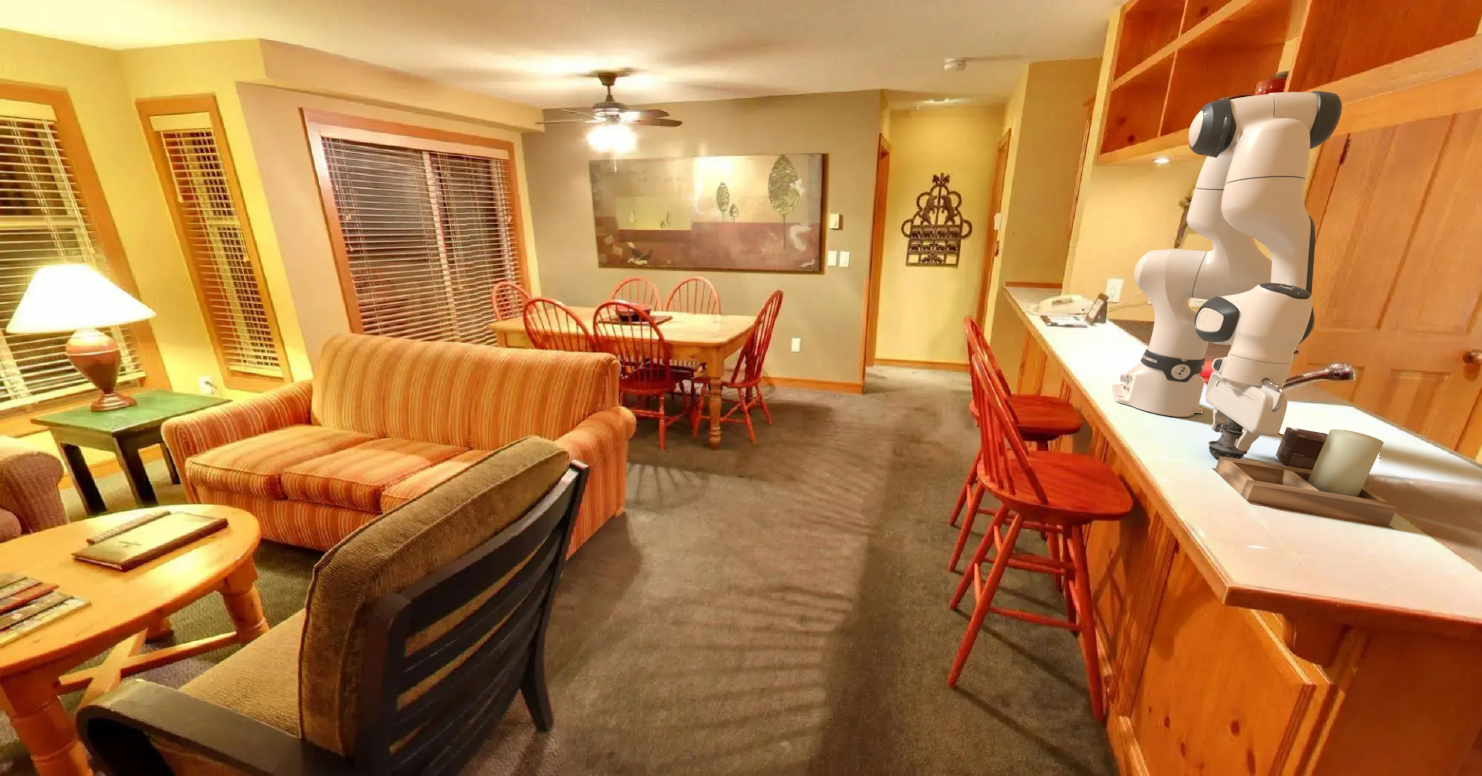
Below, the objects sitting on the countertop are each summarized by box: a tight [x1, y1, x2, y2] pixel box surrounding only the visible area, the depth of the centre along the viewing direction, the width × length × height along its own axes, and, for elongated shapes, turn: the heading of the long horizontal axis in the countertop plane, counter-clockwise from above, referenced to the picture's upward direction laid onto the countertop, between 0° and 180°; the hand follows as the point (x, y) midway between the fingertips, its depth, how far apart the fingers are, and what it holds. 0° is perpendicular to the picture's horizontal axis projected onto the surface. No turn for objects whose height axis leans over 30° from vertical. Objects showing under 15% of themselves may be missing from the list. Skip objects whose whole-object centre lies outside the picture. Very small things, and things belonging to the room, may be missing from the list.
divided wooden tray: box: [1211, 456, 1398, 530], centre depth 92 cm, size 14×18×4 cm
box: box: [1275, 426, 1329, 470], centre depth 104 cm, size 6×6×7 cm
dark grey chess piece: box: [1208, 416, 1248, 460], centre depth 104 cm, size 6×6×12 cm
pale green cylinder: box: [1307, 428, 1385, 497], centre depth 89 cm, size 6×6×12 cm
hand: (1228, 440), depth 104 cm, fingers open, 8 cm apart
